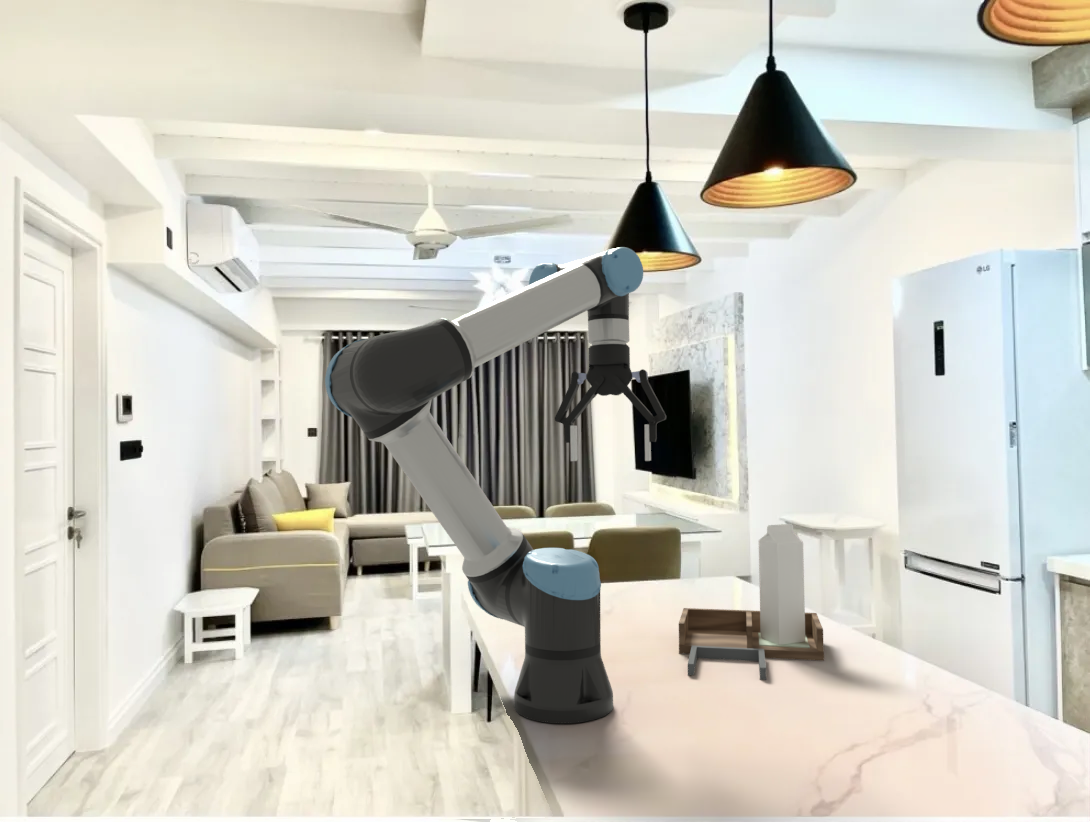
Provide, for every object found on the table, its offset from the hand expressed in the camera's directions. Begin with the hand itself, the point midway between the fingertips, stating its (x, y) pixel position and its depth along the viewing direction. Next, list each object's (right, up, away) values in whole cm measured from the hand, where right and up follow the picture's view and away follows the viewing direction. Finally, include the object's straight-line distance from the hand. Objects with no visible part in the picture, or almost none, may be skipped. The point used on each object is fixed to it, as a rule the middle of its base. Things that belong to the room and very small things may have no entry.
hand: (610, 461), depth 146 cm
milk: (+34, -35, +7) cm, 49 cm away
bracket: (+20, -36, -5) cm, 42 cm away
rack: (+28, -37, +9) cm, 47 cm away
